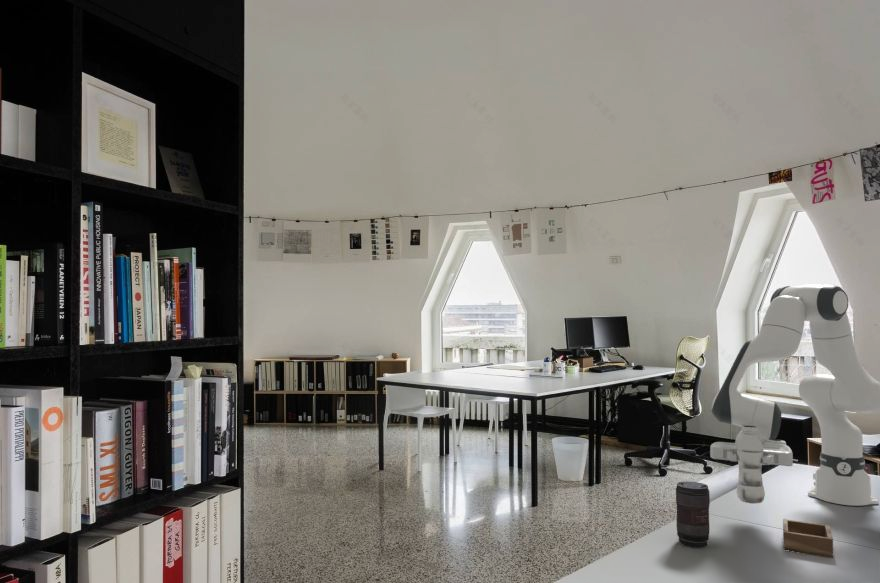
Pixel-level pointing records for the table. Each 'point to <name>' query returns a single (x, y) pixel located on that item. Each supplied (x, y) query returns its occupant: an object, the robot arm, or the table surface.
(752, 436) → the plastic bottle
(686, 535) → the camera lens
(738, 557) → the table surface
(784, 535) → the open wooden box
